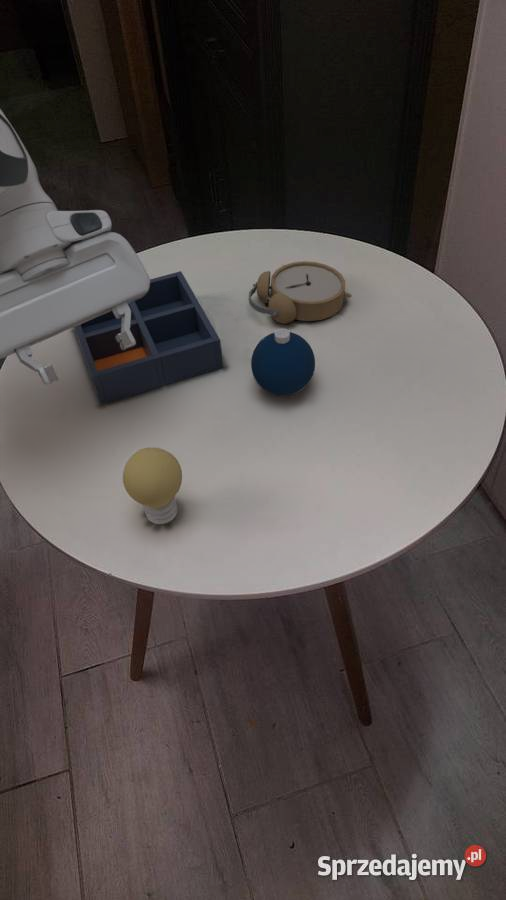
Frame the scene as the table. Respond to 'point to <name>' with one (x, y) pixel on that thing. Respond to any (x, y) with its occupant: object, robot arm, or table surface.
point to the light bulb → (154, 483)
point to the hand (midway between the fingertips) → (91, 364)
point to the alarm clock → (300, 292)
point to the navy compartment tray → (151, 342)
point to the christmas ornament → (283, 363)
